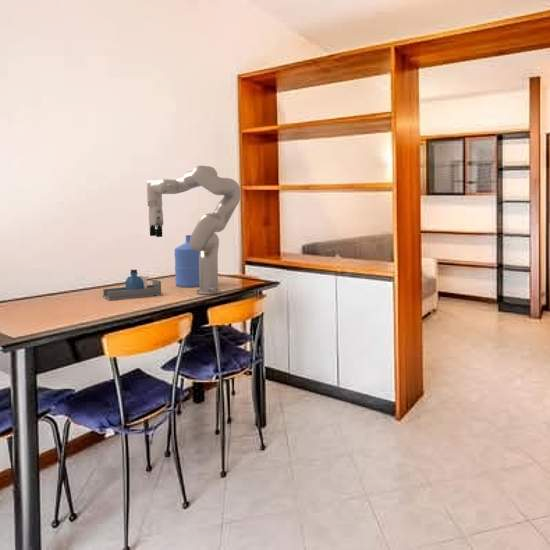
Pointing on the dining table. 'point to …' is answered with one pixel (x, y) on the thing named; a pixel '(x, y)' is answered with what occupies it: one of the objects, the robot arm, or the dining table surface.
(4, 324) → the dining table surface
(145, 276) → the pusher
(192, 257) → the water jug
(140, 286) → the perfume bottle
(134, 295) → the tray
